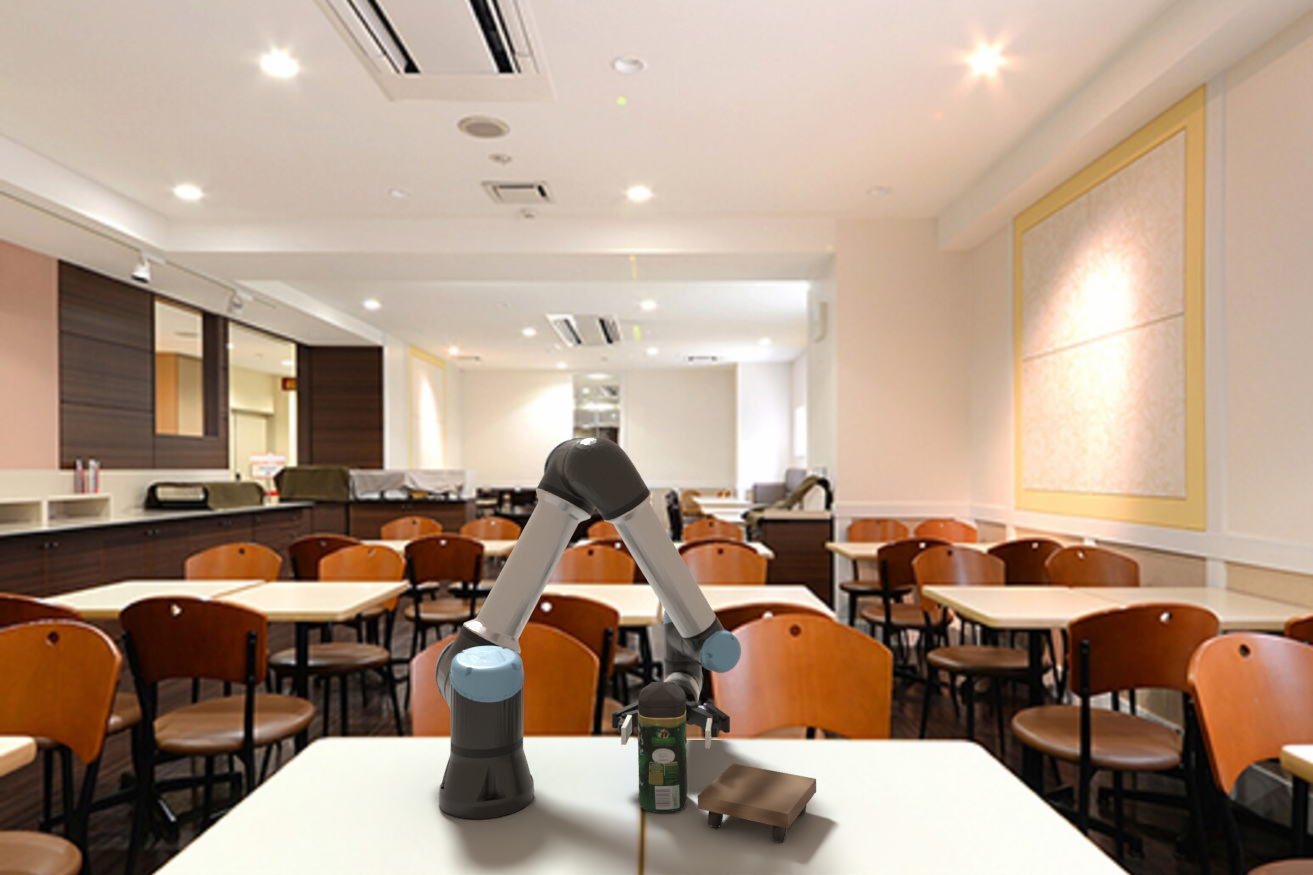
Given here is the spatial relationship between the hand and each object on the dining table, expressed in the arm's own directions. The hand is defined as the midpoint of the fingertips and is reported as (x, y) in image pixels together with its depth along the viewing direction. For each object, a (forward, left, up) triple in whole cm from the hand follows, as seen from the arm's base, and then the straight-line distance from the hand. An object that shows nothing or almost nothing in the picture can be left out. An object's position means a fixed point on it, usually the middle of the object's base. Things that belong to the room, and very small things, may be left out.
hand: (665, 737), depth 127 cm
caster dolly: (+15, +1, -10) cm, 19 cm away
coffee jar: (-1, 0, -11) cm, 11 cm away
